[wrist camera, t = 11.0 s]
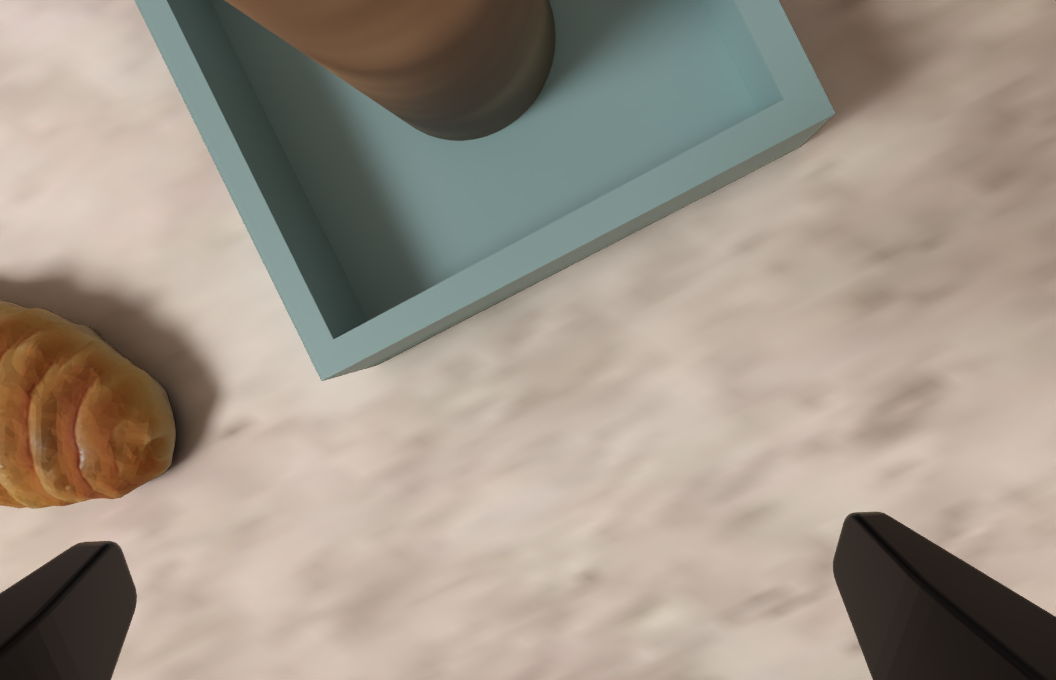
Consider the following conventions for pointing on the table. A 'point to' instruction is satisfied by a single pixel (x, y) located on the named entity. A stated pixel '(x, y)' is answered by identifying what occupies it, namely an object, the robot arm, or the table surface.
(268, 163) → the tray
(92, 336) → the pastry
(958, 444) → the table surface
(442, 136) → the pepper mill
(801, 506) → the table surface
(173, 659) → the table surface
